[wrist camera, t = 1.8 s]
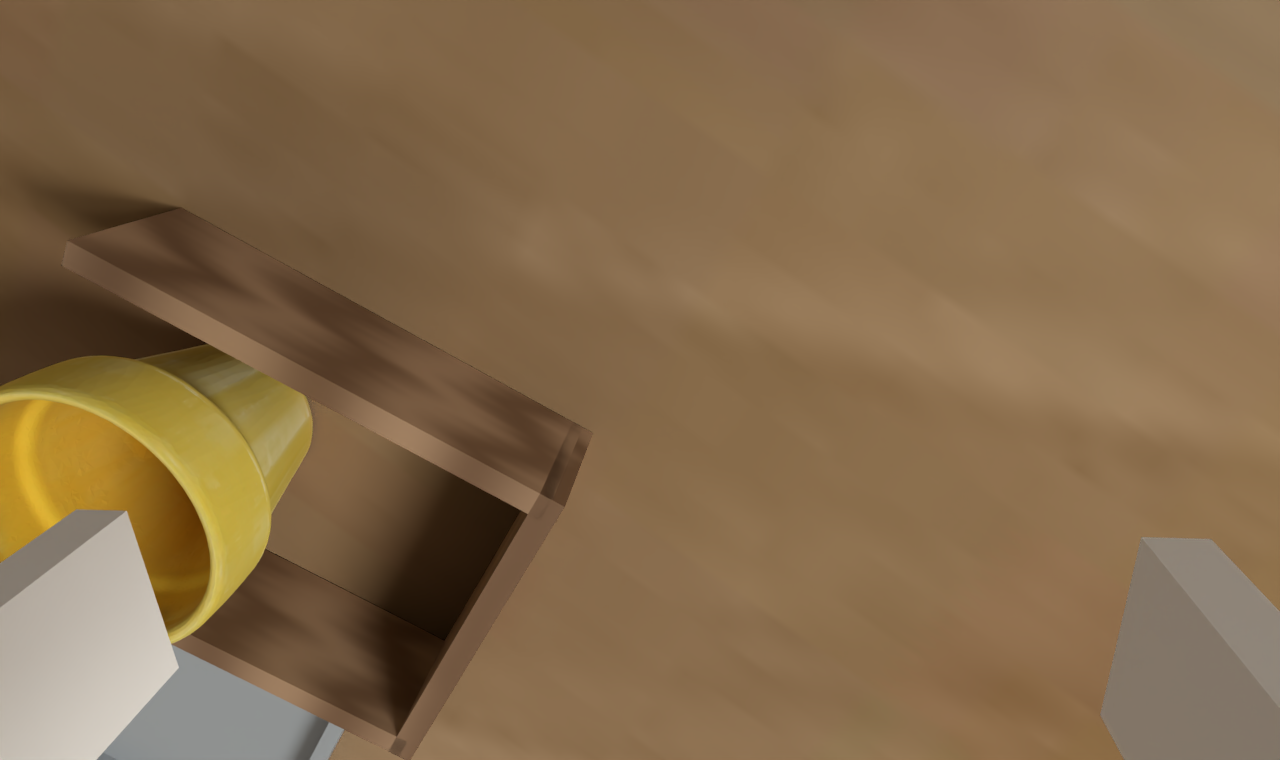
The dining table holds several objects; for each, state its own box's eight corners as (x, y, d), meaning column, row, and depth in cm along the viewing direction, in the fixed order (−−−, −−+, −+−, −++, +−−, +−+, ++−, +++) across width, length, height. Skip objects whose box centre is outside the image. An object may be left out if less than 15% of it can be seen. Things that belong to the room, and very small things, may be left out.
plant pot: (102, 434, 37) (-101, 556, 28) (172, 251, 33) (-37, 327, 24) (300, 548, 38) (166, 701, 29) (391, 385, 35) (268, 504, 26)
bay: (98, 482, 38) (-9, 555, 33) (181, 207, 33) (67, 240, 27) (454, 663, 40) (409, 761, 35) (592, 433, 34) (564, 506, 29)
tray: (33, 713, 45) (3, 741, 43) (94, 510, 39) (62, 533, 37) (287, 834, 46) (269, 867, 45) (384, 656, 40) (367, 685, 39)
